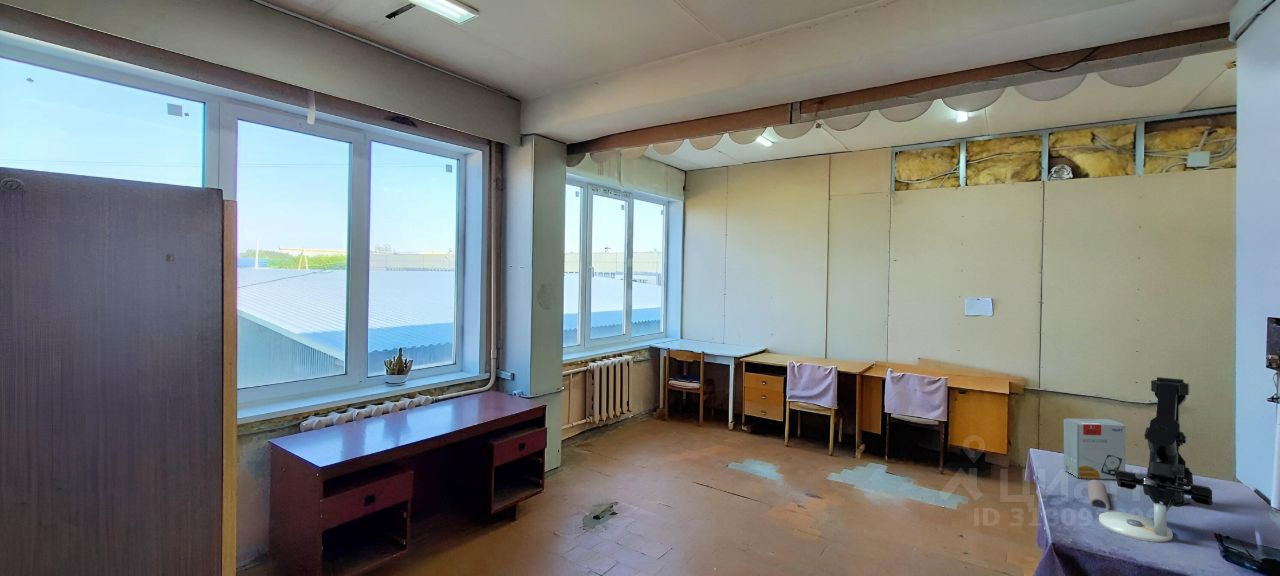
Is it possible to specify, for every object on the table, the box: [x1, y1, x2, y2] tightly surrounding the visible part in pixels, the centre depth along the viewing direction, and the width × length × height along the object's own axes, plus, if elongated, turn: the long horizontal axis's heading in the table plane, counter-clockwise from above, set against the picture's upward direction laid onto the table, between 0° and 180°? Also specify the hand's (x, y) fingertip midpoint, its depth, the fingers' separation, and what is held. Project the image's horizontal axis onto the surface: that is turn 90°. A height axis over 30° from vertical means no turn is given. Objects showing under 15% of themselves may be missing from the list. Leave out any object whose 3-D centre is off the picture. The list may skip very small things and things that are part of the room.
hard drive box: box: [1063, 418, 1126, 480], centre depth 183 cm, size 16×8×20 cm, turn 81°
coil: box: [1086, 479, 1111, 511], centre depth 163 cm, size 5×5×18 cm
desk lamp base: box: [1098, 503, 1174, 543], centre depth 144 cm, size 15×15×9 cm
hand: (1161, 515), depth 139 cm, fingers closed, pressing on desk lamp base
